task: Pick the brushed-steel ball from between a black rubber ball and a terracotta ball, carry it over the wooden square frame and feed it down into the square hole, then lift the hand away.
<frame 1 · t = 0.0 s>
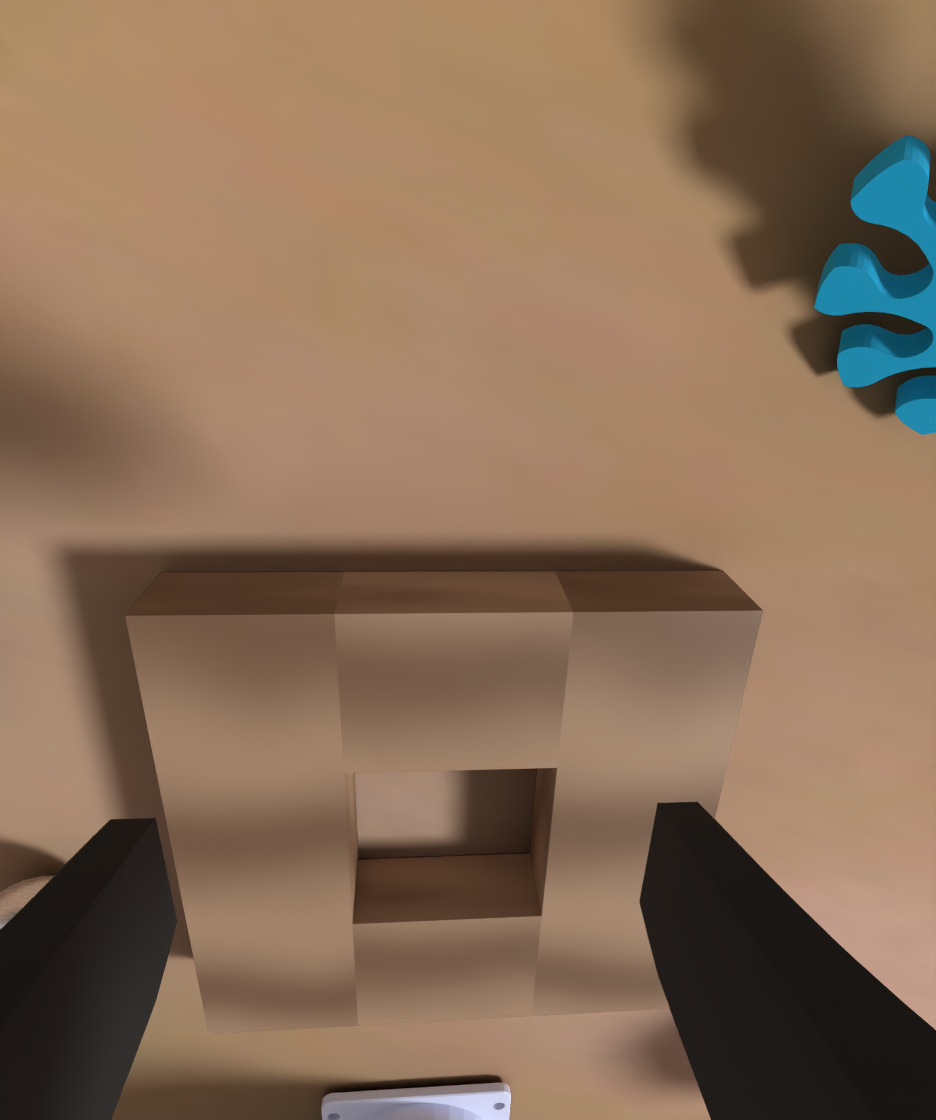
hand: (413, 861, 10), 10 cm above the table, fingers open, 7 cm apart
steel ball: (34, 945, 21), point 2 cm above the table
wooden square frame: (446, 789, 22), on the table
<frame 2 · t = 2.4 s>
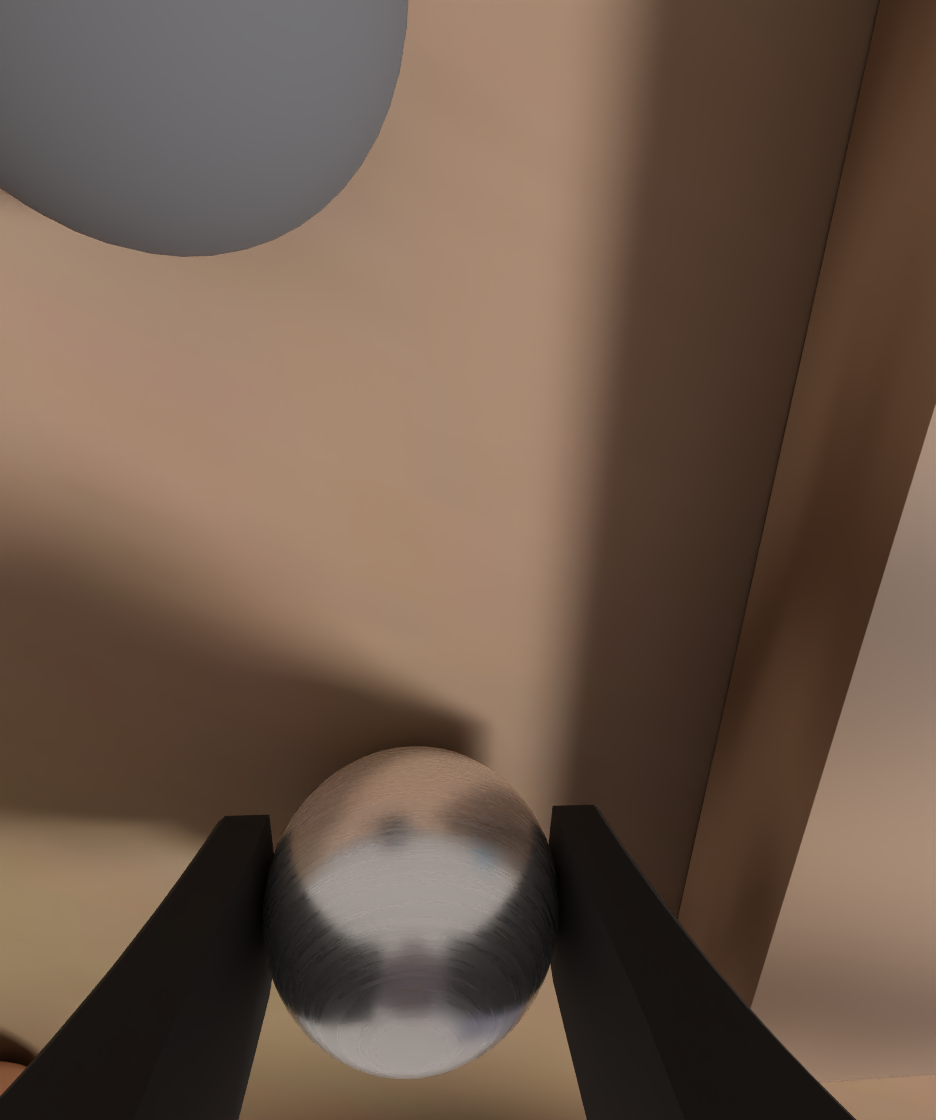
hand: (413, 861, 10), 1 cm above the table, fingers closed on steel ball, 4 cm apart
steel ball: (413, 896, 9), point 2 cm above the table, touching gripper
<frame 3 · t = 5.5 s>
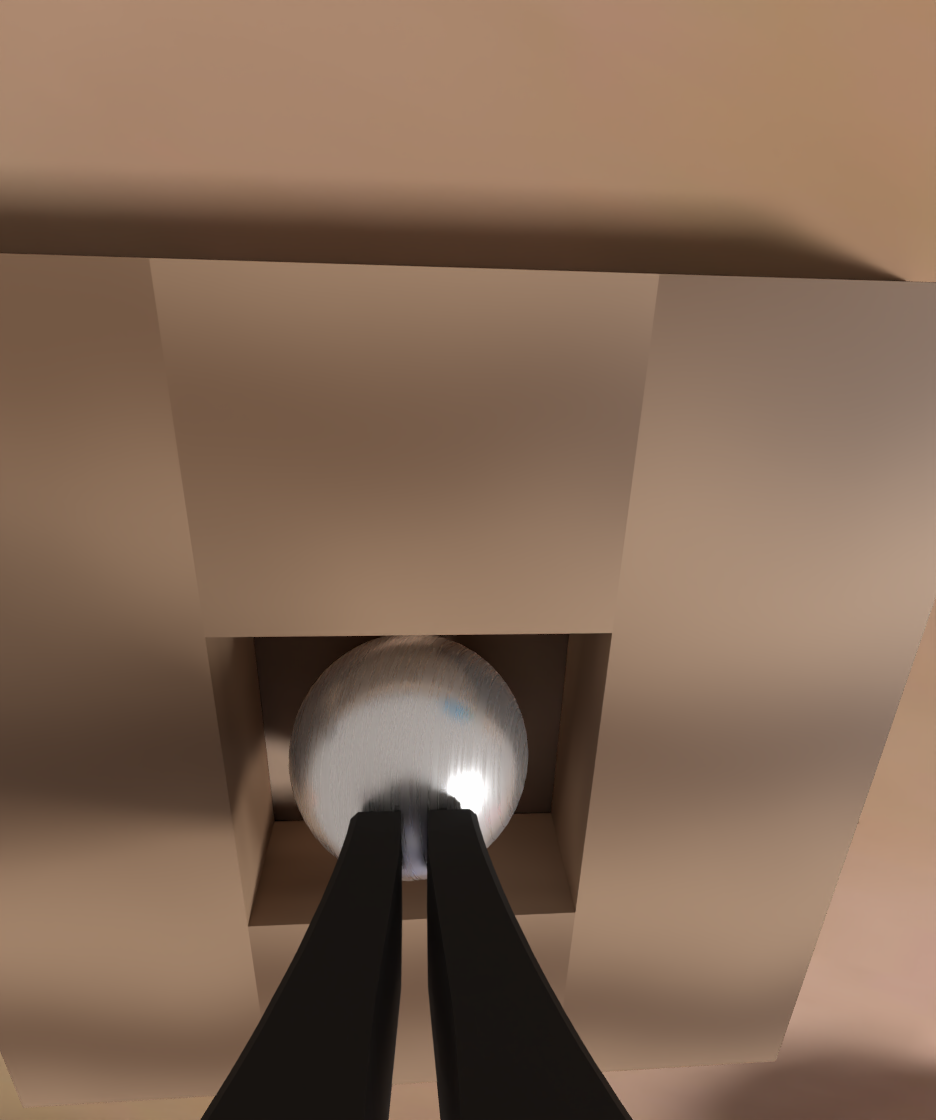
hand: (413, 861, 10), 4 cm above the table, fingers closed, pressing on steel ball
steel ball: (410, 751, 11), point 2 cm above the table, tilted 106°, touching gripper
wooden square frame: (414, 702, 13), on the table
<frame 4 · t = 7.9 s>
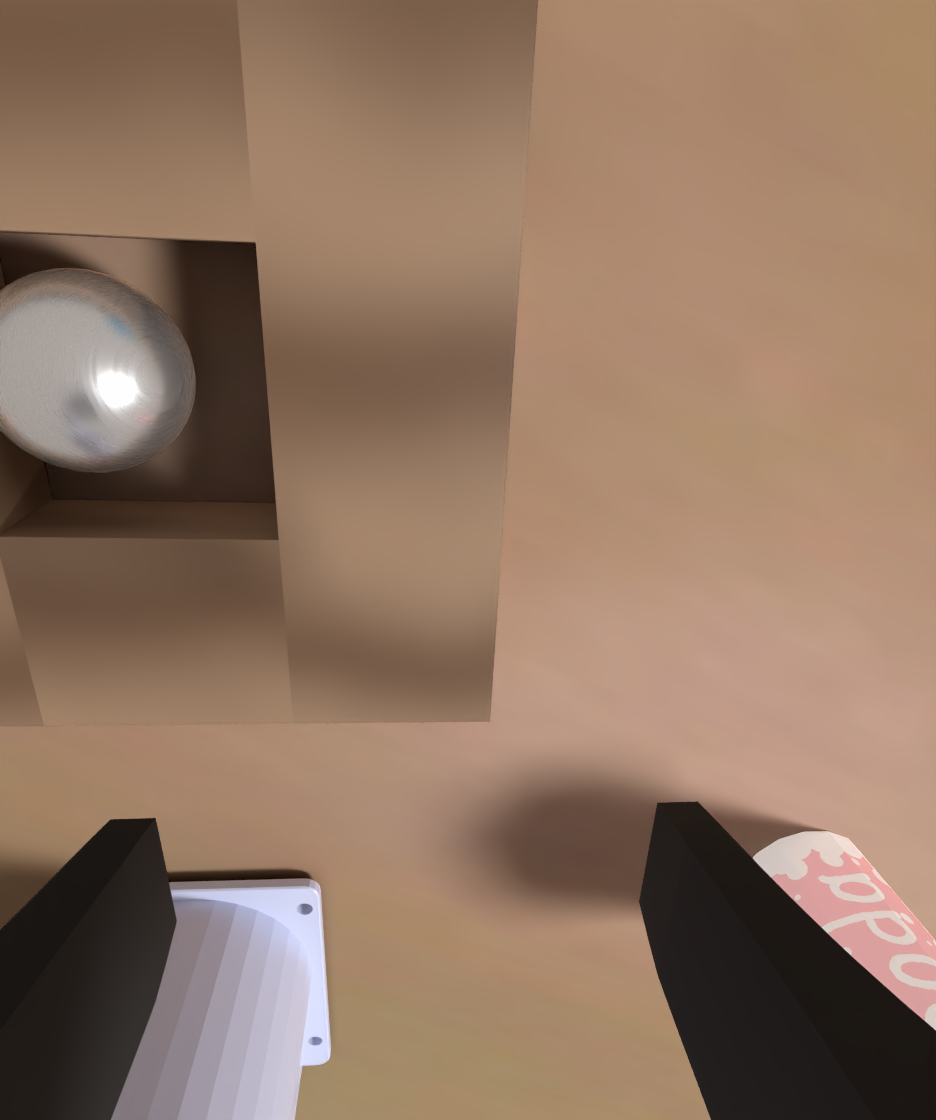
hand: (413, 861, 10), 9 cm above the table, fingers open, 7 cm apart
beverage cup: (796, 873, 24), on the table
steel ball: (90, 374, 14), point 2 cm above the table, tilted 122°
wooden square frame: (159, 380, 16), on the table
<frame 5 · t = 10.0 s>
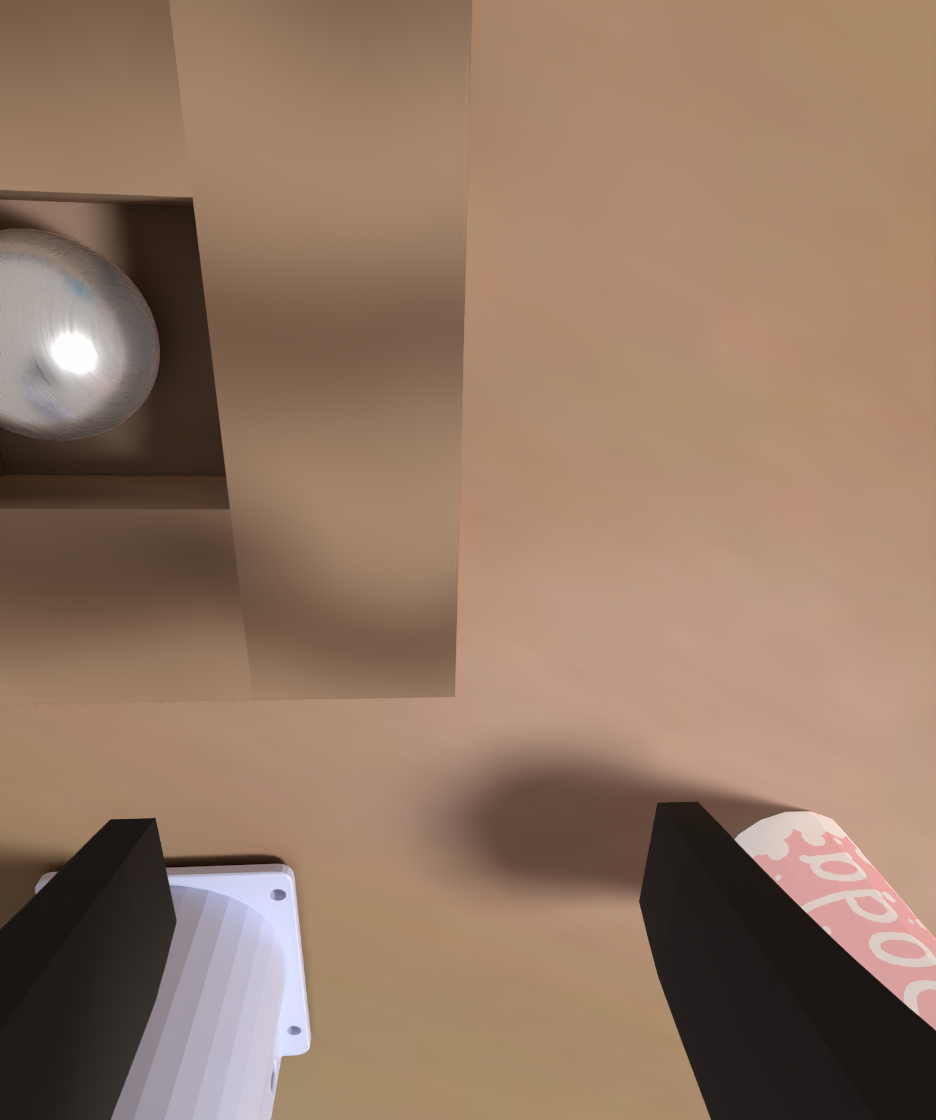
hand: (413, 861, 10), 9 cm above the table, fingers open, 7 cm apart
beverage cup: (780, 855, 24), on the table
steel ball: (50, 339, 13), point 2 cm above the table, tilted 112°
wooden square frame: (109, 349, 15), on the table
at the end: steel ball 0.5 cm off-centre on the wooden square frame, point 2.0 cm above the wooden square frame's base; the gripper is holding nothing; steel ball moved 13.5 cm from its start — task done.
